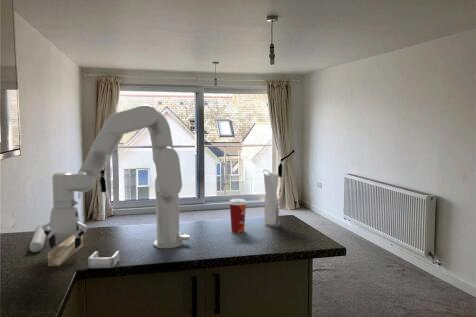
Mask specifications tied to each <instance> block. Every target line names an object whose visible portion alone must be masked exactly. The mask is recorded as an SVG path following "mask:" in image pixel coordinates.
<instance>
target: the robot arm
mask: <svg viewBox="0 0 476 317" xmlns="http://www.w3.org/2000/svg"><path fill="white" fill-rule="evenodd" d="M145 128H147V130H148V132H149V136H150V141H151V142H150V143H151V150H152V161H153V162H154V165H155V171H156V177H155V181H154V188H155V189H154V191H155V207H156V208H155V212H156V216H155V217H156V218H155V219H156V239H155V240H154V241H153V246H154V247H155V248H158V249H165V250H167V249H174V248H178V246H179V247H180V246H182V245H183V244H184V241H190V240H191V235H188V234H182V231H180V199H179V198H180V197H179V196H180V195H179V194H180V192H181V191H182V187H183V178H182V171H181V164H180V163H181V162H180V158H179V157H180V156H179V154H178V152H177V150H176V149H174V144H173V137H172V133H171V132H172V131H171V127H170V124H169V121H168V120H167V118H166V117H165V115H164V114H162V113H161V112H160V111H159V110H157V109H156V108H155V107H154V106H152V105H151V104H142V105H139V106H136V107H132V108H130V109H126V110H122V111H118V112H114V113H111V114H109V116H108V117H107V118H106V119H105V122H104V123H103V125H102V126H101V129H100V131H99V132H98V134H97V135H96V138H95V139H94V141H93V143H92V144H91V146H90V149H89V152H88V154H87V156H86V158H85V160H84V162H83V163H82V164H81V167H80V169H79V170H78V172H77V173H72V172H67V171H63V172H62V171H60V172H55V173H54V174H52V205H53V206H52V207H51V210H50V218H49V222H48V223H45V224H44V225H43V224H42V225H43V226H42V229H43V231H44V233H45V234H46V238H48V245H49V248H52V249H54V248H55V247H56V244H57V243H56V235H55V234H63V235H64V234H71V235H75V237H76V238H75V248H78V247H79V246H80V245H81V236H82V235H83V236H84V234H85V233H86V231H87V229H88V226H87V225H86V224H84V223H82V222H80V216H79V215H80V214H79V210H78V207H77V206H78V204H79V201H76V199H75V192H77V193H79V192H81V193H85V192H88V191H91V190H92V189H93V187H94V185H95V183H96V180H97V178H98V176H99V174H100V173H101V172H102V170H103V168H104V166H105V165H106V163H107V162H108V161H109V160H110V159H111V158H112V156H113V154H114V152H116V149H117V148H118V146H119V144H120V142H121V140H122V139H123V137H124V135H127V134H128V133H132V132H136V131H138V130H142V129H145ZM47 227H48V228H49V229H48V228H47ZM80 228H81V231H80Z"/></svg>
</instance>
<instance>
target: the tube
mask: <svg viewBox="0 0 476 317" xmlns="http://www.w3.org/2000/svg"><path fill="white" fill-rule="evenodd" d="M42 226H43V224H41V225H37V227H36V228H35V229H34V232H33V233H34V234H33V236H32V238H31V241H30V244H29V251H30V252H32V253H39V251H40V252H41V251H42V250H43V248H44V245H45V241H46V238H47V235H46V234H45V233H44V231H43V229H42ZM47 228H49V227H47Z"/></svg>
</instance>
